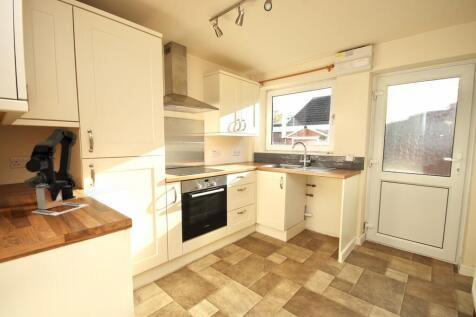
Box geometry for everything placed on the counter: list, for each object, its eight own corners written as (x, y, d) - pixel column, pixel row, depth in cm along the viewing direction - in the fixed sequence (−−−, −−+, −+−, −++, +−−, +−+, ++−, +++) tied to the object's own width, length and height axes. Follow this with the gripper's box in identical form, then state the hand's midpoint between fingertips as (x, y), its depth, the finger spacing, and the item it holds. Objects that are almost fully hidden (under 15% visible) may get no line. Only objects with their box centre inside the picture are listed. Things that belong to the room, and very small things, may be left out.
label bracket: (31, 212, 102) (31, 211, 102) (67, 202, 117) (67, 202, 117) (54, 215, 97) (54, 214, 97) (88, 205, 113) (88, 204, 112)
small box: (45, 209, 105) (43, 188, 104) (37, 209, 107) (35, 188, 106) (63, 204, 113) (60, 184, 112) (55, 204, 114) (53, 184, 114)
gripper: (13, 171, 103) (16, 203, 104) (41, 172, 98) (44, 206, 99) (40, 168, 114) (43, 197, 115) (66, 169, 108) (69, 200, 110)
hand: (49, 200), depth 109 cm, fingers open, 6 cm apart
